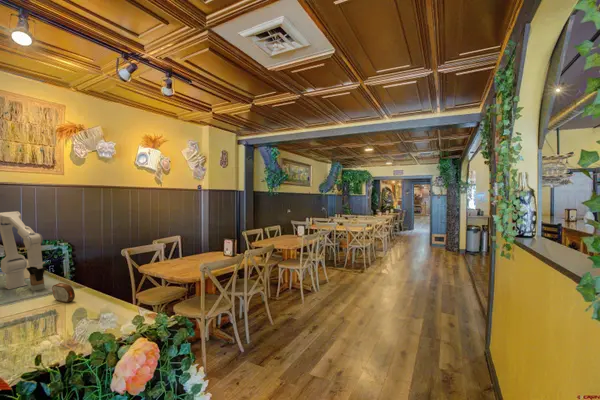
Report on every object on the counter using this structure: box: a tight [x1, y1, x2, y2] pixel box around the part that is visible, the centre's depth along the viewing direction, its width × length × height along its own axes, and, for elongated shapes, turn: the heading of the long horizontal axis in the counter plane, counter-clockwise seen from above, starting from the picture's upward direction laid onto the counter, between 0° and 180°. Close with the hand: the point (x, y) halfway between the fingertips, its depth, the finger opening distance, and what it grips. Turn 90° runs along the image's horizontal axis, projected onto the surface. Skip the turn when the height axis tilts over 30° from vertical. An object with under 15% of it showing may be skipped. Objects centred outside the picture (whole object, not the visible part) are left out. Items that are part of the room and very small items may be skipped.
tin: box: [51, 282, 76, 303], centre depth 136 cm, size 15×3×8 cm, turn 65°
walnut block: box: [29, 274, 45, 286], centre depth 157 cm, size 4×4×6 cm
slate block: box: [30, 282, 46, 292], centre depth 157 cm, size 5×5×3 cm
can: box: [24, 258, 30, 280], centre depth 181 cm, size 6×6×12 cm
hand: (37, 279), depth 157 cm, fingers open, 7 cm apart
